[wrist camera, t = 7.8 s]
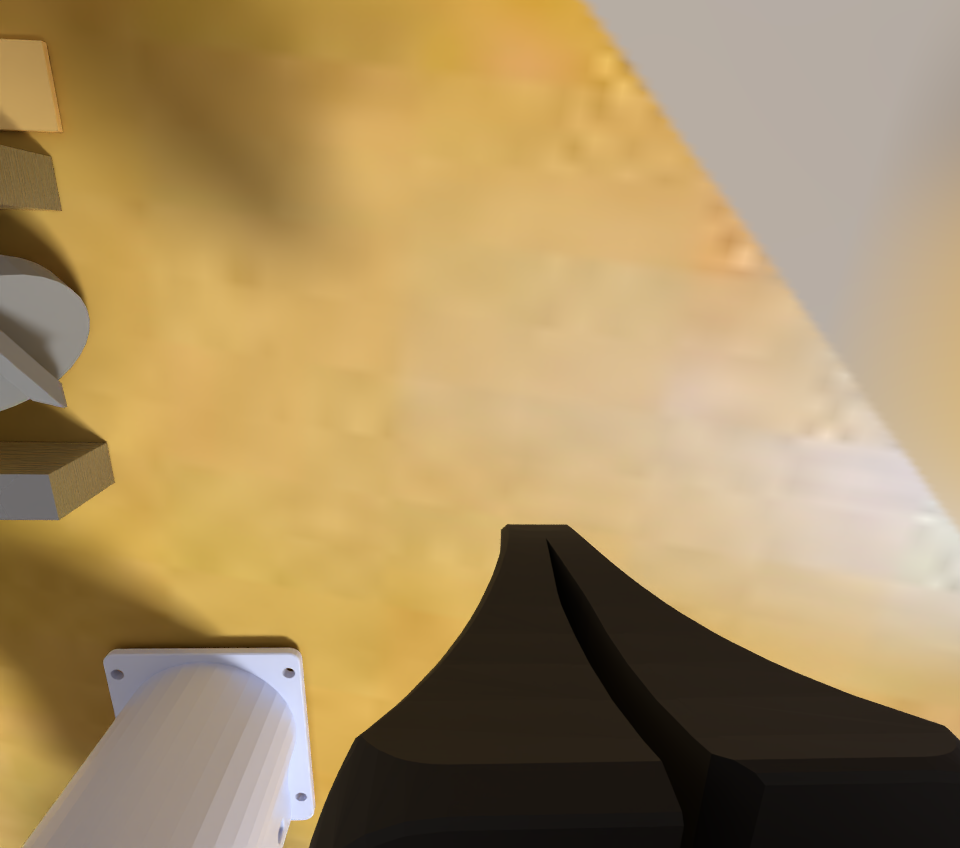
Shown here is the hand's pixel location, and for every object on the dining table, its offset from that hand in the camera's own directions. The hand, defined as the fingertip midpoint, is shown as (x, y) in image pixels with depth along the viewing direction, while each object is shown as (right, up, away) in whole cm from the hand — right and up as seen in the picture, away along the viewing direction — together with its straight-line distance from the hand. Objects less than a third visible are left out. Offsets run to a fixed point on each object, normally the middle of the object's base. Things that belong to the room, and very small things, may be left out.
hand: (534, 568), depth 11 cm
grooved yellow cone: (-13, +3, +5) cm, 15 cm away
